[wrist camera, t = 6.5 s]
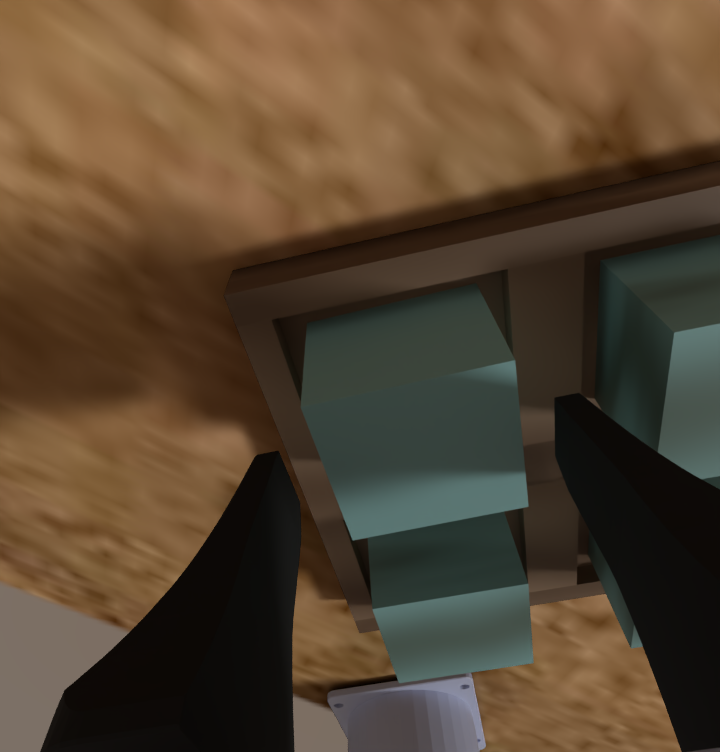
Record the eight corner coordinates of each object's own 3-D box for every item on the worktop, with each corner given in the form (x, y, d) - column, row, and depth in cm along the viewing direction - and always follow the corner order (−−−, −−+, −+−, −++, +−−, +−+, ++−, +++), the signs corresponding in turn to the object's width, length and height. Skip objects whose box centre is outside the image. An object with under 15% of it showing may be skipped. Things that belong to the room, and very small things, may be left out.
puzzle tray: (735, 537, 24) (815, 644, 20) (358, 600, 25) (363, 711, 21) (851, 131, 14) (1050, 181, 10) (232, 270, 16) (199, 361, 12)
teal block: (493, 415, 18) (528, 507, 15) (348, 445, 19) (352, 540, 15) (476, 283, 15) (515, 359, 12) (307, 323, 16) (300, 407, 13)
